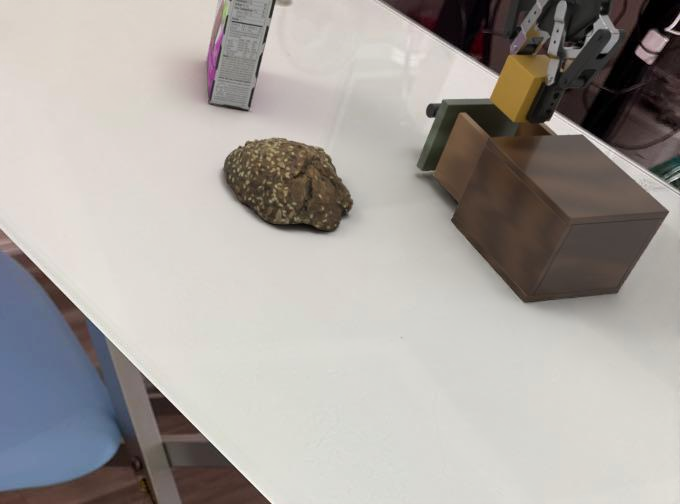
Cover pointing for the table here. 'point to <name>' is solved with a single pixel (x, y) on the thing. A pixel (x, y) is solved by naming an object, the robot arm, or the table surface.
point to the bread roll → (288, 183)
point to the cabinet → (556, 216)
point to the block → (519, 85)
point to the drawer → (466, 138)
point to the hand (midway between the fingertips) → (521, 107)
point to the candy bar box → (237, 50)
